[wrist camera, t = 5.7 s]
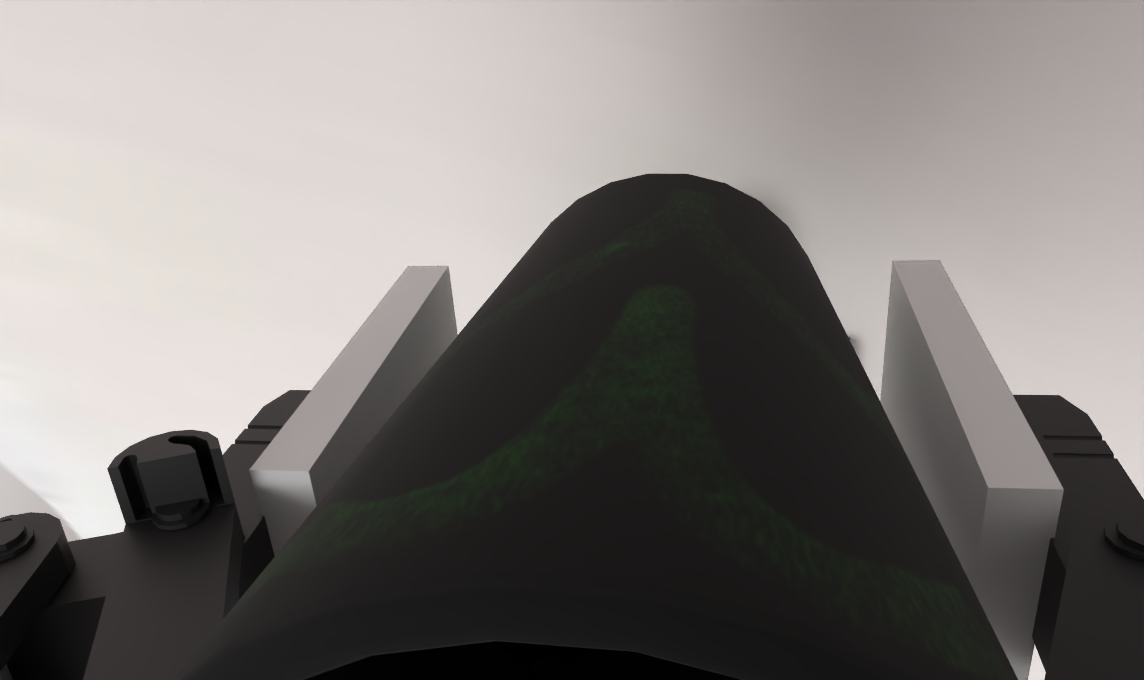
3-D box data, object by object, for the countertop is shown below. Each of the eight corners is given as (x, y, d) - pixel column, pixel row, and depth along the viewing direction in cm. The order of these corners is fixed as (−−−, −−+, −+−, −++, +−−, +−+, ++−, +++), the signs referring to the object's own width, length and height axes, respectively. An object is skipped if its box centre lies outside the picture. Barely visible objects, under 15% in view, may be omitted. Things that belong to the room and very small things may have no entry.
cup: (648, 551, 20) (562, 1322, 10) (382, 296, 18) (-88, 898, 8) (971, 342, 17) (1378, 1137, 6) (690, 11, 15) (615, 356, 5)
